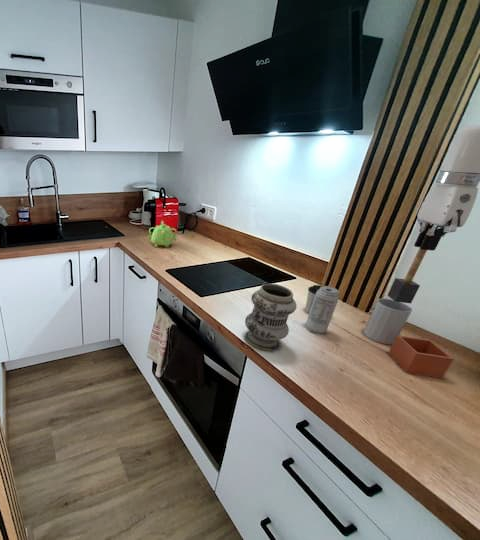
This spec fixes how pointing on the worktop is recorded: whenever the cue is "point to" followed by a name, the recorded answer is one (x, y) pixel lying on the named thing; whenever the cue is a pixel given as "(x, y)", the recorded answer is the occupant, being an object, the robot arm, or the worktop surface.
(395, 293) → the brush
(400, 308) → the grey cylindrical container
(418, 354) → the holder
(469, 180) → the robot arm
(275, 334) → the apothecary jar
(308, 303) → the coffee cup
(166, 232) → the teapot
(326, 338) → the worktop surface
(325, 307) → the energy drink can
